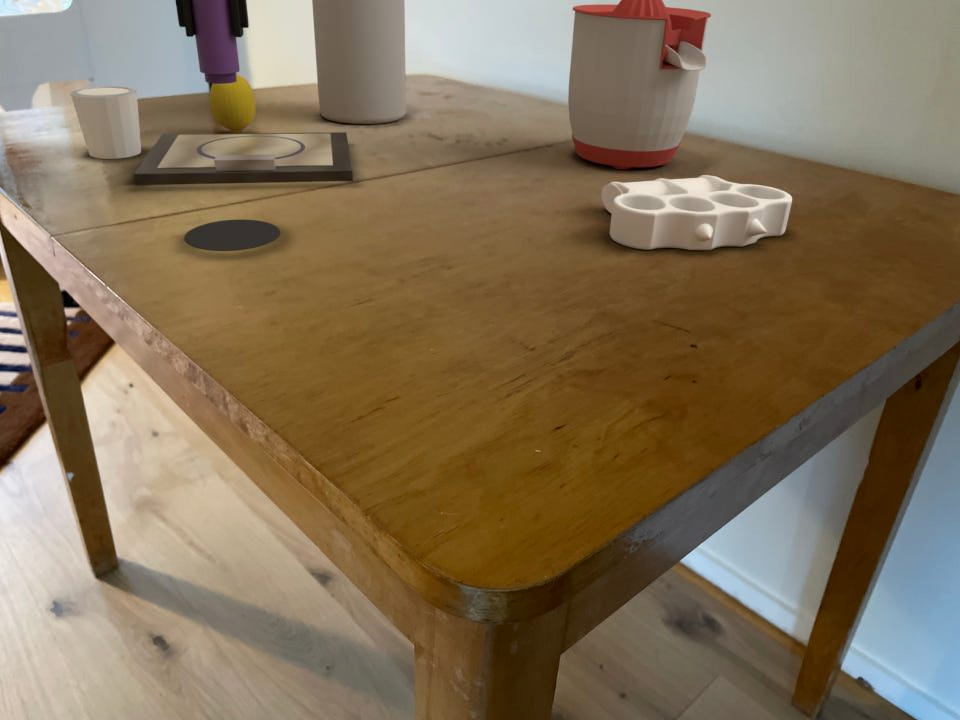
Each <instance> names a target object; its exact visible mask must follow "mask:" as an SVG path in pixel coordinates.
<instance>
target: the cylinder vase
mask: <svg viewBox="0 0 960 720" xmlns="http://www.w3.org/2000/svg"><path fill="white" fill-rule="evenodd" d="M311 3H312V4H311V5H312V19H313V33H314V48H315V49H314V50H315V65H316V77H317V93H318V109H319V113H320V115H321V116H322V117H323V118H324V119H326V120H328V121H332V122H335V123H341V124H350V125H378V124H379V125H380V124H385V123H391V122H392V123H393V122H396V121H398V120H401V119H402V118H404V117H405V115H406V113H407V85H406V84H407V83H406V82H407V81H406V80H407V79H406V78H407V77H406V76H407V75H406V26H405V25H406V17H405V16H406V12H405V11H406V9H405V7H406V6H405V0H311Z"/></svg>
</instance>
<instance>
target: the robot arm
mask: <svg viewBox="0 0 960 720" xmlns="http://www.w3.org/2000/svg"><path fill="white" fill-rule="evenodd" d="M174 1H175V7H176V14H177V22H178V26H179V28H184V30H185V36H186V37H188V38H193V37H195V30H194V22H193V15H192V7H191V0H174ZM247 3H248V2H247V0H230V9H231V17H232V26H233V35H234V36H236V38H243V36H244V29H248V28H249V27H250V26H249V25H250V21H249V14H248V4H247Z"/></svg>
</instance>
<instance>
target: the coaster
mask: <svg viewBox="0 0 960 720" xmlns="http://www.w3.org/2000/svg"><path fill="white" fill-rule="evenodd" d="M280 236H281V230H280V228H279V227H277V226H276V225H274V224H272V223H270V222H267V221H261V220H256V219H226V220H217V221H212V222H208V223H205V224H204V223H203V224H201V225H198V226H195V227H193V228H191V229H190V230H189V231H187V232H186V233H185V235H184V238H183V239H184V242H185V244H187V245H189V246H190V247H193V248H195V249H199V250H203V251H205V250H206V251H211V252H212V251H213V252H236V251H245V250H251V249H256V248H260V247H263V246H266V245H269V244H270V243H273V242H275V241H276V240H278V239H279V237H280Z"/></svg>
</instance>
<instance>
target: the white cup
mask: <svg viewBox="0 0 960 720" xmlns="http://www.w3.org/2000/svg"><path fill="white" fill-rule="evenodd" d="M70 96H71V100H72V103H73V106H74V110H75V113H76V116H77V120H78V123H79V126H80V129H81V132H82V136H83V139H84V142H85V146H86V149H87V152H88V155H89V156H90V157H91V158H95V159H100V160H101V159H103V160H118V159H126V158H132V157H135V156H138V155H139V154H141V153H142V142H141V132H140V131H141V129H140V117H139V105H138V104H139V103H138V92H137V90H136V89H134V88H131V87H130V88H129V87H123V86H94V87H85V88H79V89H75V90H73V91H71V92H70Z"/></svg>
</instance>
